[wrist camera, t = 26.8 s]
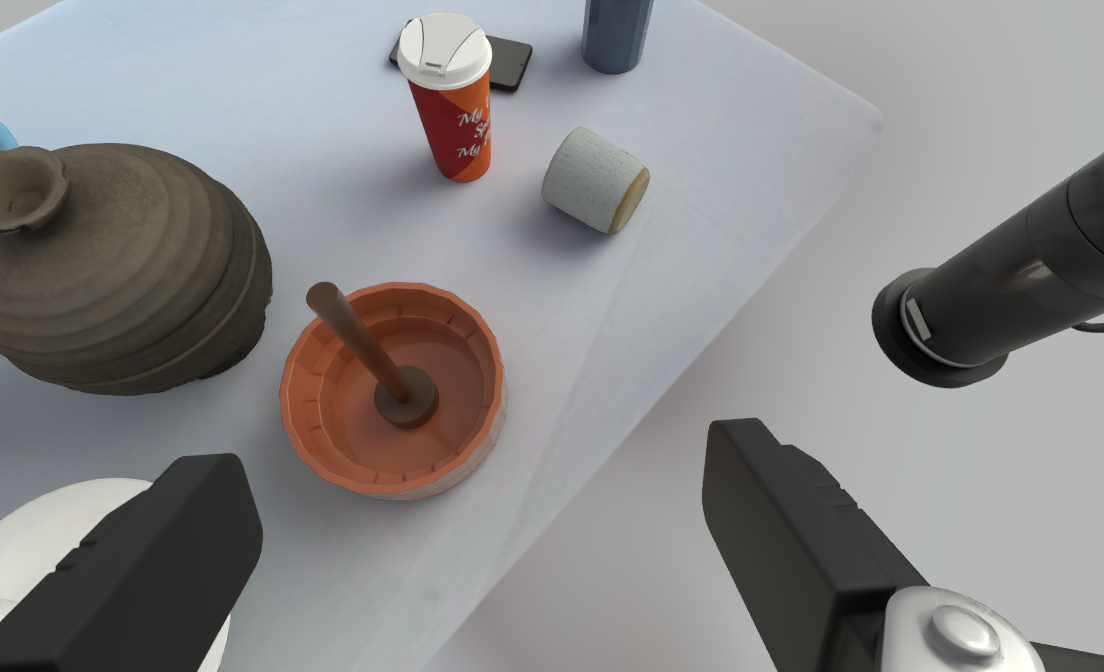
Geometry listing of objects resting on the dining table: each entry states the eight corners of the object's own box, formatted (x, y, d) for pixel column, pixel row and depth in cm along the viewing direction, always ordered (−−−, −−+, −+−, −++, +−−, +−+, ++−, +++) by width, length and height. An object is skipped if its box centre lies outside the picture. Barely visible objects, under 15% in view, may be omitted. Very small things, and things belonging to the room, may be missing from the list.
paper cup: (491, 197, 53) (477, 83, 40) (417, 183, 53) (380, 66, 40) (508, 137, 56) (501, 14, 43) (438, 125, 56) (409, -2, 43)
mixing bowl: (482, 297, 49) (474, 261, 43) (528, 468, 43) (527, 455, 37) (303, 340, 47) (269, 310, 41) (328, 527, 41) (292, 523, 35)
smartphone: (409, 17, 61) (533, 44, 60) (411, 24, 62) (533, 51, 60) (386, 59, 58) (516, 87, 57) (388, 65, 59) (516, 94, 58)
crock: (629, 26, 63) (646, -65, 54) (649, 67, 60) (670, -19, 51) (573, 36, 62) (580, -54, 53) (591, 79, 59) (603, -8, 50)
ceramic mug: (610, 253, 51) (623, 205, 44) (538, 214, 52) (540, 161, 45) (659, 180, 55) (679, 124, 48) (591, 146, 56) (601, 86, 49)
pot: (358, 317, 47) (209, 180, 28) (189, 464, 43) (-113, 420, 24) (247, 200, 52) (55, 16, 33) (86, 323, 48) (-234, 196, 29)
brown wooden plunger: (393, 367, 45) (297, 243, 27) (447, 381, 45) (386, 266, 26) (372, 420, 44) (254, 327, 25) (428, 435, 43) (349, 352, 25)
